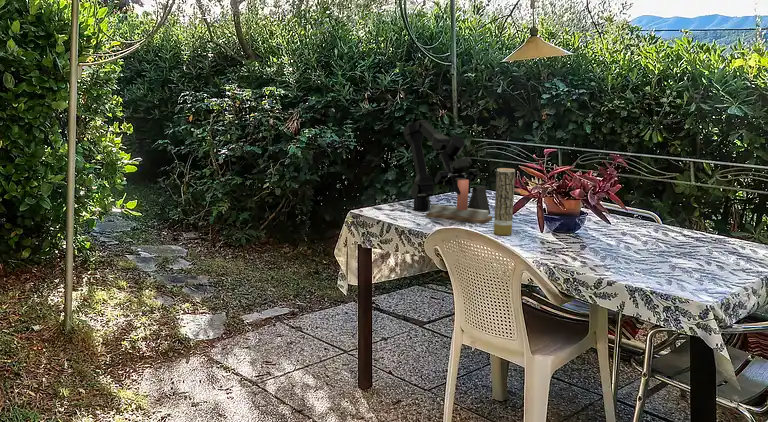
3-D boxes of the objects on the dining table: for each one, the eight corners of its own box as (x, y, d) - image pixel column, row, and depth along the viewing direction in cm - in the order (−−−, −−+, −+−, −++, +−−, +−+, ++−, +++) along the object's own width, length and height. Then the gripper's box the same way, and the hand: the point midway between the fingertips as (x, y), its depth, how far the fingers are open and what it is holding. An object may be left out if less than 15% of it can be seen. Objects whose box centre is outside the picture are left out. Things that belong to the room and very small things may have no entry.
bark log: (511, 236, 248) (515, 171, 243) (493, 235, 249) (496, 170, 244) (511, 232, 254) (515, 168, 249) (494, 231, 256) (497, 167, 251)
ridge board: (426, 217, 280) (426, 206, 279) (435, 212, 289) (435, 202, 288) (483, 224, 268) (484, 213, 267) (492, 219, 277) (492, 209, 276)
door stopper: (490, 213, 289) (491, 186, 286) (481, 215, 285) (482, 188, 283) (475, 210, 296) (476, 184, 293) (466, 212, 292) (467, 185, 289)
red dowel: (454, 209, 264) (456, 180, 262) (459, 207, 268) (460, 178, 265) (465, 210, 262) (466, 181, 260) (469, 208, 266) (470, 179, 263)
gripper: (439, 151, 259) (453, 183, 252) (478, 149, 268) (492, 180, 260) (428, 168, 268) (441, 199, 261) (466, 166, 276) (480, 196, 269)
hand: (464, 193), depth 262 cm, fingers closed on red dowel, 4 cm apart
